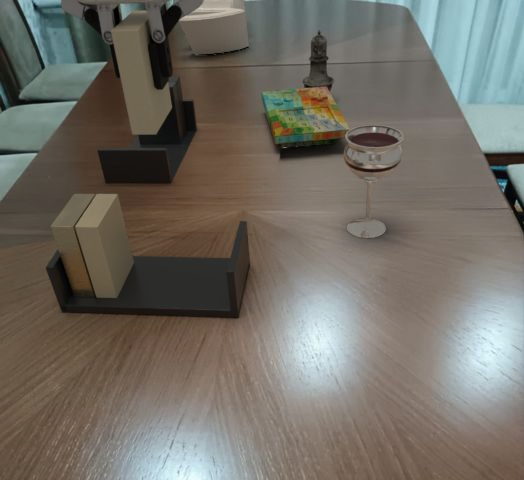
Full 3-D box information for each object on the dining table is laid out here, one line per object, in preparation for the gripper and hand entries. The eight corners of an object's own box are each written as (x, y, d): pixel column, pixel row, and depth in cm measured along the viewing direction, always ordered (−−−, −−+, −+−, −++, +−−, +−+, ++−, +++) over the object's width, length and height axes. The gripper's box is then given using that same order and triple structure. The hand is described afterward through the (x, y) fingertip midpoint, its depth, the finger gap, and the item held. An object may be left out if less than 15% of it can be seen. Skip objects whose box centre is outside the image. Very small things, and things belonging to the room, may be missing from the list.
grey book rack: (172, 189, 84) (160, 121, 78) (106, 189, 85) (90, 121, 79) (198, 135, 99) (190, 73, 92) (142, 135, 100) (130, 74, 93)
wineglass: (398, 219, 75) (410, 128, 67) (385, 246, 70) (395, 151, 62) (349, 211, 77) (354, 121, 69) (332, 236, 73) (336, 143, 65)
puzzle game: (326, 81, 102) (351, 123, 87) (325, 108, 105) (349, 153, 90) (261, 86, 101) (274, 130, 87) (262, 113, 105) (275, 160, 90)
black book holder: (61, 312, 64) (32, 234, 57) (90, 261, 71) (68, 186, 64) (238, 318, 62) (230, 237, 55) (250, 265, 69) (244, 188, 62)
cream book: (132, 135, 55) (110, 30, 49) (150, 108, 60) (132, 10, 54) (156, 134, 55) (137, 30, 49) (172, 107, 60) (157, 9, 54)
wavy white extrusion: (248, 58, 129) (245, 5, 122) (176, 62, 130) (168, 9, 123) (249, 20, 155) (247, -26, 148) (189, 23, 156) (183, -23, 149)
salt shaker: (296, 102, 108) (295, 31, 100) (314, 92, 111) (315, 23, 103) (321, 108, 105) (322, 36, 97) (339, 98, 108) (342, 28, 100)
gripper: (215, -181, 44) (234, 71, 57) (19, -168, 46) (79, 74, 59) (197, -181, 39) (223, 98, 51) (-25, -166, 41) (52, 100, 53)
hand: (146, 83), depth 55 cm, fingers closed on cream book, 2 cm apart
